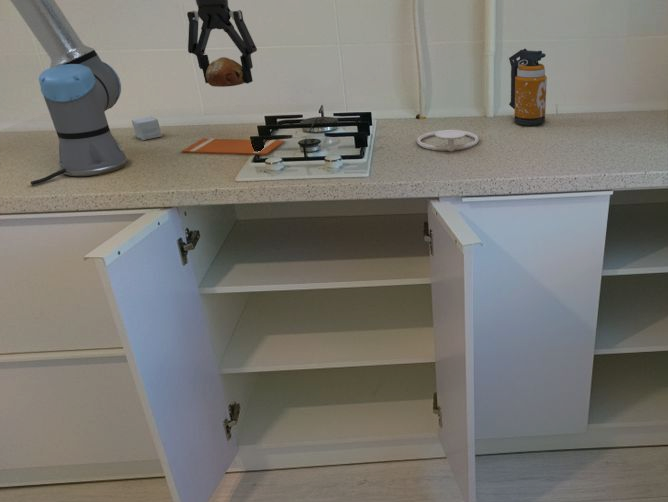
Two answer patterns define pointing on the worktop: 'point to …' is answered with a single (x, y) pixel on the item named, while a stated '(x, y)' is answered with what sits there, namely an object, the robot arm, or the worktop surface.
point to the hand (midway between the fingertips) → (229, 82)
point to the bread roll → (224, 73)
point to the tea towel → (231, 147)
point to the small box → (146, 128)
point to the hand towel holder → (449, 136)
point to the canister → (528, 87)
